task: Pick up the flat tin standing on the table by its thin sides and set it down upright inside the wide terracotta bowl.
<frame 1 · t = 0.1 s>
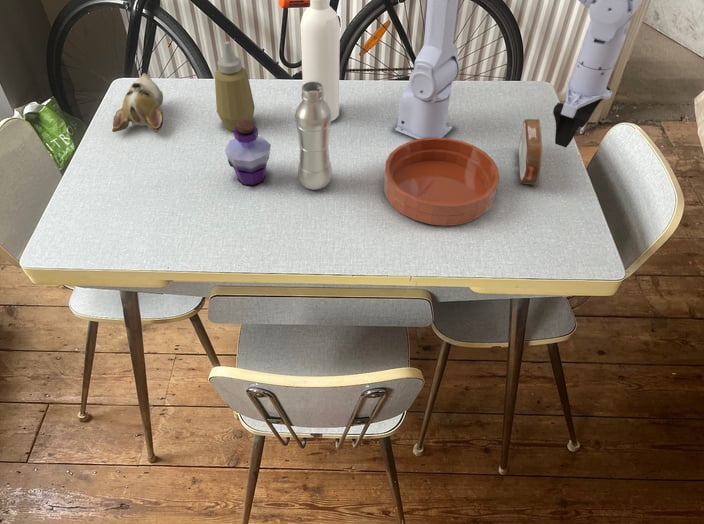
hand: (569, 134, 102), 10 cm above the table, tool pointing down, fingers open, 7 cm apart
bottle: (321, 114, 126), on the table
squeeze bottle: (238, 125, 124), on the table
potion bottle: (251, 178, 112), on the table
tin: (523, 169, 112), on the table
bowl: (437, 191, 108), on the table
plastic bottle: (315, 184, 110), on the table
ceramic sculpture: (145, 121, 126), on the table
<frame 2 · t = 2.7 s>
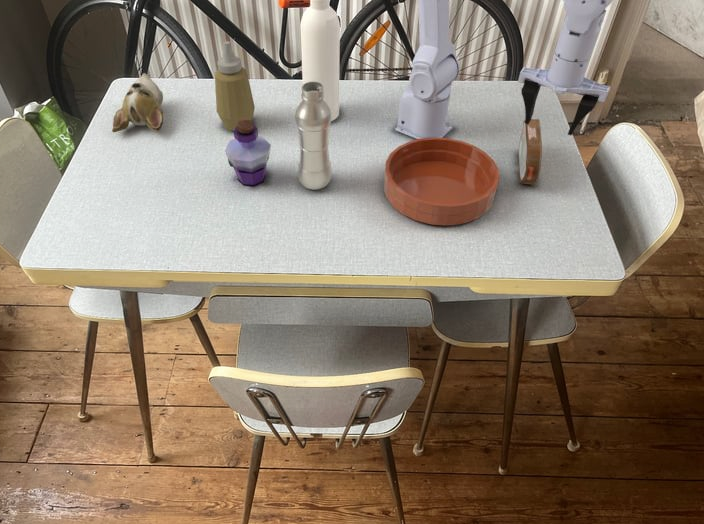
hand: (549, 126, 104), 10 cm above the table, tool pointing down, fingers open, 7 cm apart
nothing on the table moved.
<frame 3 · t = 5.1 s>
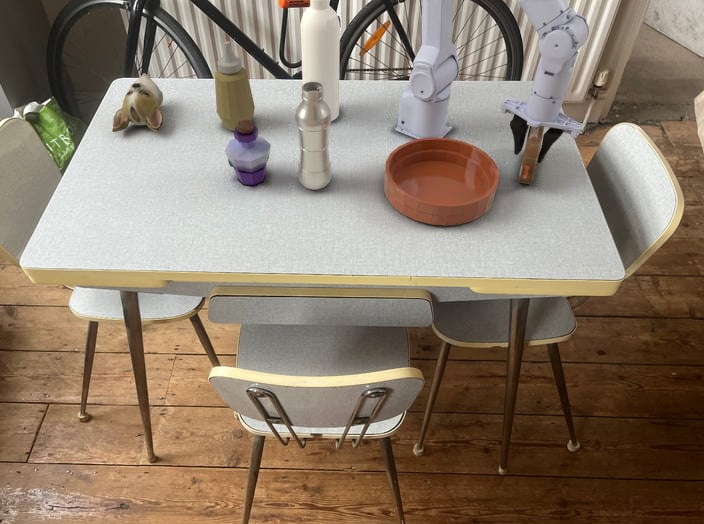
hand: (528, 156, 110), 3 cm above the table, tool pointing down, fingers closed on tin, 4 cm apart
tin: (525, 169, 112), on the table, touching gripper
everything else where it was.
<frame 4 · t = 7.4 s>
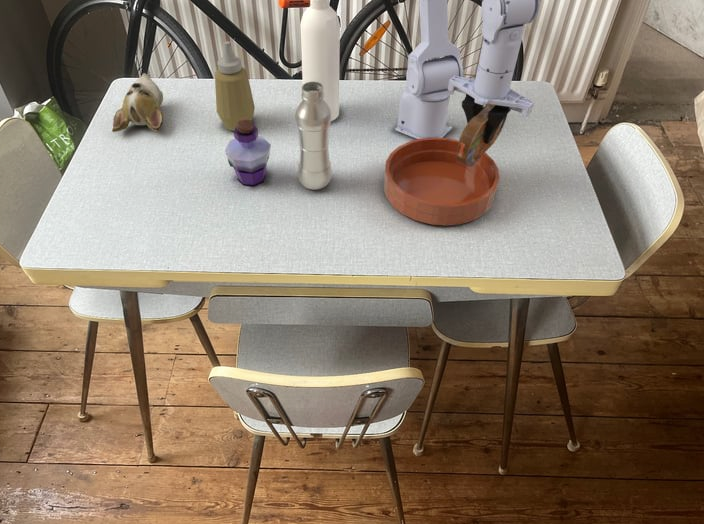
hand: (480, 137, 102), 10 cm above the table, tool pointing down, fingers closed on tin, 2 cm apart
tin: (475, 151, 105), point 7 cm above the table, touching gripper
everything else where it was.
when the fingers open (4 cm above the table, at t = 9.8 s): tin stays where it is, resting on bowl.
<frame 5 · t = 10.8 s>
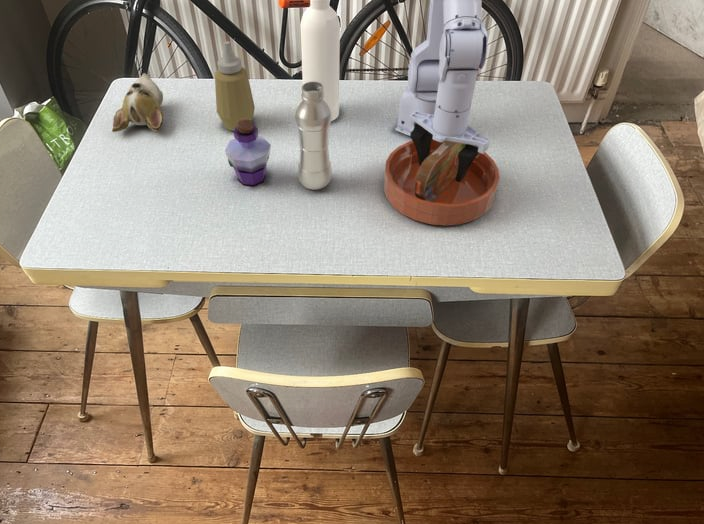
hand: (441, 171, 104), 5 cm above the table, tool pointing down, fingers open, 7 cm apart
tin: (437, 187, 108), resting on bowl
everything else where it was.
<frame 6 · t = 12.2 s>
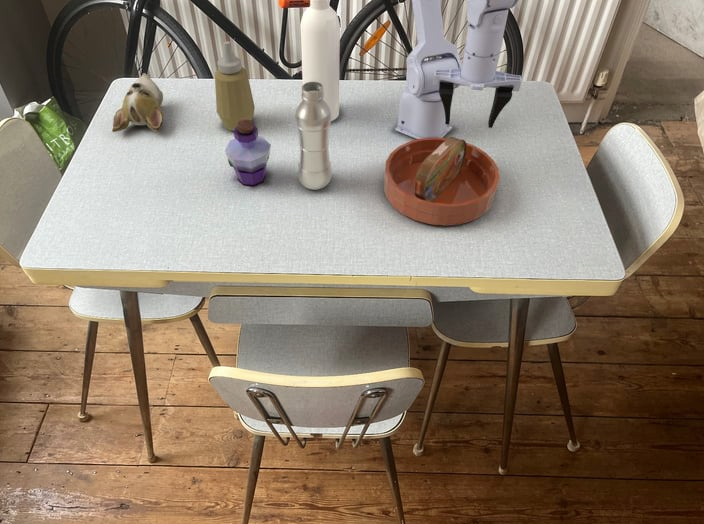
hand: (468, 123, 105), 10 cm above the table, tool pointing down, fingers open, 7 cm apart
nothing on the table moved.
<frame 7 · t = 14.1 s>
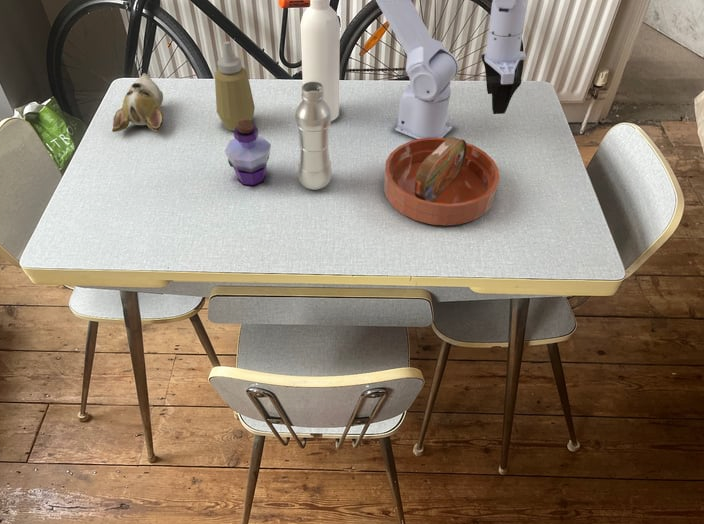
hand: (495, 102, 109), 10 cm above the table, tool pointing down, fingers open, 7 cm apart
nothing on the table moved.
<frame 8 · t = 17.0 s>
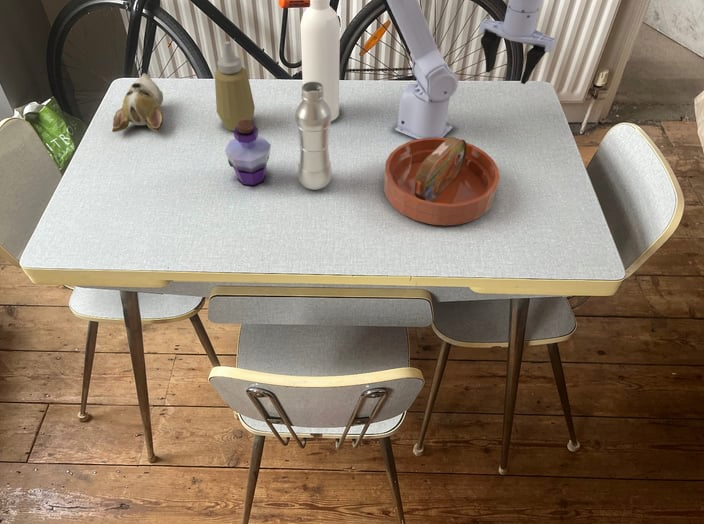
hand: (506, 76, 115), 10 cm above the table, tool pointing down, fingers open, 7 cm apart
nothing on the table moved.
at the end: tin inside the target area in the bowl (0.5 cm from its centre), point 0.4 cm above the bowl's base; the gripper is holding nothing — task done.
